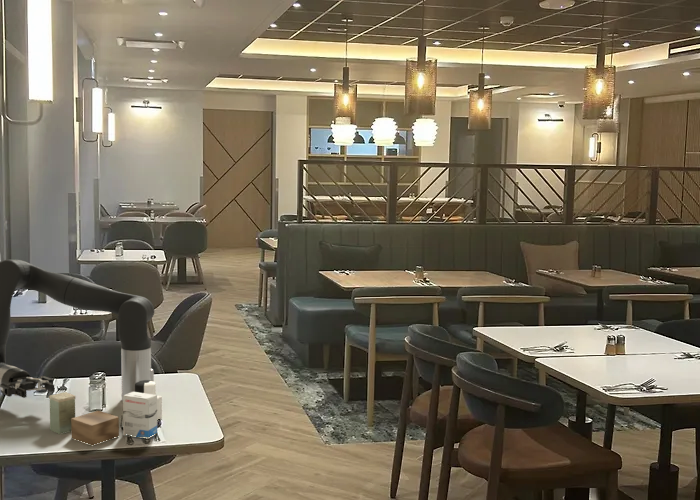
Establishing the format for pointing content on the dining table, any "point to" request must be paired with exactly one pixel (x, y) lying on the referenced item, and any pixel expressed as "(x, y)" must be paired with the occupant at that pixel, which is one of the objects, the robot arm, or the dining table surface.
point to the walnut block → (95, 427)
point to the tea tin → (61, 412)
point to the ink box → (139, 414)
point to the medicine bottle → (150, 388)
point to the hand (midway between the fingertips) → (39, 391)
